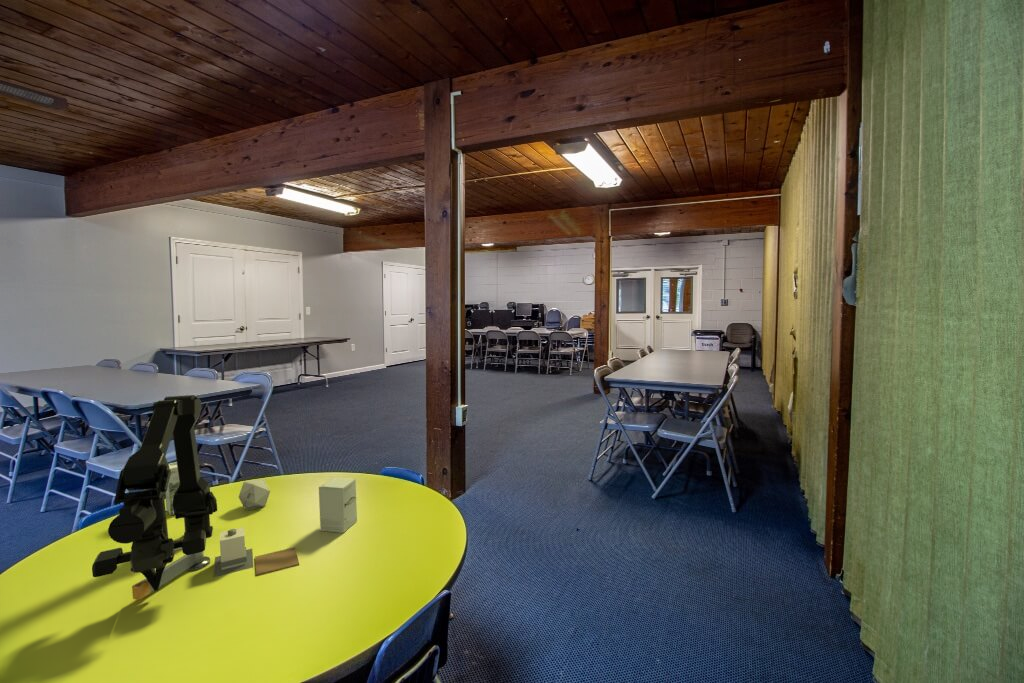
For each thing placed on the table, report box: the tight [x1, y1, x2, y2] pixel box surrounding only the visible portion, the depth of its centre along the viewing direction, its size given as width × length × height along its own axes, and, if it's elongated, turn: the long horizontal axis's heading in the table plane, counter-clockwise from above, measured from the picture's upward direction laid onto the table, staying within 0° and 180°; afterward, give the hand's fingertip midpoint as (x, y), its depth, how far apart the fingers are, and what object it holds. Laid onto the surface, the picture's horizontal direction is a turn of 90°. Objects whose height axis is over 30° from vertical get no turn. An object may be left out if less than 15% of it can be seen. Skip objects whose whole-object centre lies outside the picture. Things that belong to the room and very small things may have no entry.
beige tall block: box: [219, 526, 247, 570], centre depth 116 cm, size 5×5×8 cm
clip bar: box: [131, 550, 205, 601], centre depth 108 cm, size 16×3×4 cm, turn 168°
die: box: [238, 478, 271, 511], centre depth 148 cm, size 8×9×10 cm
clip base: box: [185, 555, 211, 572], centre depth 115 cm, size 5×5×1 cm
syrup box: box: [164, 461, 180, 516], centre depth 146 cm, size 6×6×14 cm
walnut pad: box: [254, 546, 300, 577], centre depth 117 cm, size 9×9×1 cm
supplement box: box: [318, 477, 358, 534], centre depth 135 cm, size 7×7×13 cm
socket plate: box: [213, 548, 254, 578], centre depth 116 cm, size 10×8×1 cm
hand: (156, 589), depth 103 cm, fingers closed
